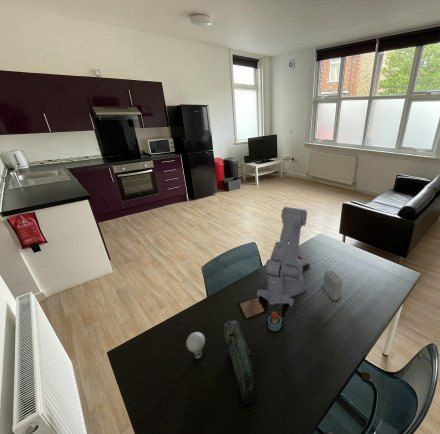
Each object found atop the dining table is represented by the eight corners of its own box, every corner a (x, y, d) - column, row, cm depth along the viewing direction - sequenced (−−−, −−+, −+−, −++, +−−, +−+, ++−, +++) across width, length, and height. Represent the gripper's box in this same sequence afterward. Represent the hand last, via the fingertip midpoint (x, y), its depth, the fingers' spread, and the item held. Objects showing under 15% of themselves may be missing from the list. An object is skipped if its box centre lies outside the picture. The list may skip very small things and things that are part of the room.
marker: (276, 321, 101) (276, 310, 98) (279, 326, 99) (279, 315, 96) (270, 324, 100) (270, 312, 97) (273, 329, 98) (273, 317, 95)
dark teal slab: (225, 352, 88) (220, 313, 80) (242, 346, 91) (239, 307, 82) (240, 409, 72) (236, 368, 63) (260, 400, 74) (259, 359, 66)
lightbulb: (198, 368, 83) (193, 347, 78) (185, 358, 86) (180, 338, 81) (211, 353, 88) (207, 333, 83) (199, 345, 91) (195, 325, 86)
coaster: (257, 297, 113) (257, 297, 113) (265, 311, 106) (265, 310, 106) (239, 304, 110) (239, 303, 110) (246, 318, 102) (246, 317, 102)
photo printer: (340, 298, 113) (344, 278, 108) (333, 301, 111) (336, 280, 106) (328, 285, 121) (331, 265, 116) (321, 287, 120) (323, 267, 115)
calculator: (309, 262, 132) (289, 271, 124) (309, 269, 134) (288, 278, 126) (297, 253, 140) (276, 261, 132) (296, 259, 142) (276, 267, 134)
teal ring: (277, 318, 103) (277, 313, 101) (283, 328, 98) (283, 323, 97) (266, 322, 101) (266, 317, 99) (271, 333, 96) (271, 327, 95)
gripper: (253, 289, 89) (254, 315, 95) (290, 299, 85) (288, 326, 91) (260, 277, 95) (261, 302, 101) (295, 286, 91) (294, 312, 97)
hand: (274, 313), depth 96 cm, fingers open, 7 cm apart
